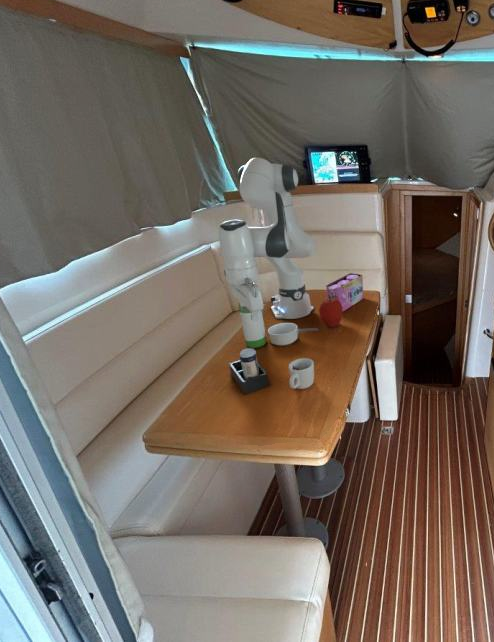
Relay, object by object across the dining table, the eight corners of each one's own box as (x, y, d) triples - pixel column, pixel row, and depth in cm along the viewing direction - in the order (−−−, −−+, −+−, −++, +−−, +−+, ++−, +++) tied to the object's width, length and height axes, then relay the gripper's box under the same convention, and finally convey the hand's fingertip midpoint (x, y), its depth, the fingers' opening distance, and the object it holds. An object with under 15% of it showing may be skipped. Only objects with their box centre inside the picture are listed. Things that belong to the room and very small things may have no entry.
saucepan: (315, 347, 145) (314, 334, 143) (265, 347, 144) (263, 335, 142) (322, 334, 156) (321, 322, 154) (275, 334, 155) (273, 322, 153)
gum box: (339, 314, 176) (337, 288, 171) (325, 312, 178) (323, 286, 173) (364, 298, 196) (362, 274, 192) (351, 296, 199) (350, 272, 194)
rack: (231, 375, 126) (228, 363, 124) (254, 367, 131) (252, 356, 129) (245, 394, 116) (242, 382, 114) (269, 385, 121) (267, 373, 119)
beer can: (264, 381, 121) (258, 349, 117) (251, 388, 118) (245, 356, 113) (255, 376, 124) (249, 346, 119) (242, 383, 120) (235, 352, 115)
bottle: (263, 348, 143) (251, 277, 133) (243, 349, 143) (229, 277, 132) (269, 339, 151) (258, 271, 140) (250, 340, 150) (237, 271, 139)
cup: (304, 398, 114) (301, 377, 111) (281, 395, 116) (278, 373, 113) (320, 379, 124) (318, 359, 121) (299, 376, 126) (296, 356, 123)
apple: (337, 318, 171) (335, 291, 166) (348, 325, 164) (346, 297, 159) (316, 324, 164) (313, 296, 159) (327, 332, 157) (324, 303, 152)
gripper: (265, 281, 105) (272, 323, 110) (242, 265, 119) (249, 303, 124) (242, 286, 101) (250, 329, 106) (221, 268, 115) (230, 308, 120)
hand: (250, 315), depth 116 cm, fingers open, 8 cm apart
